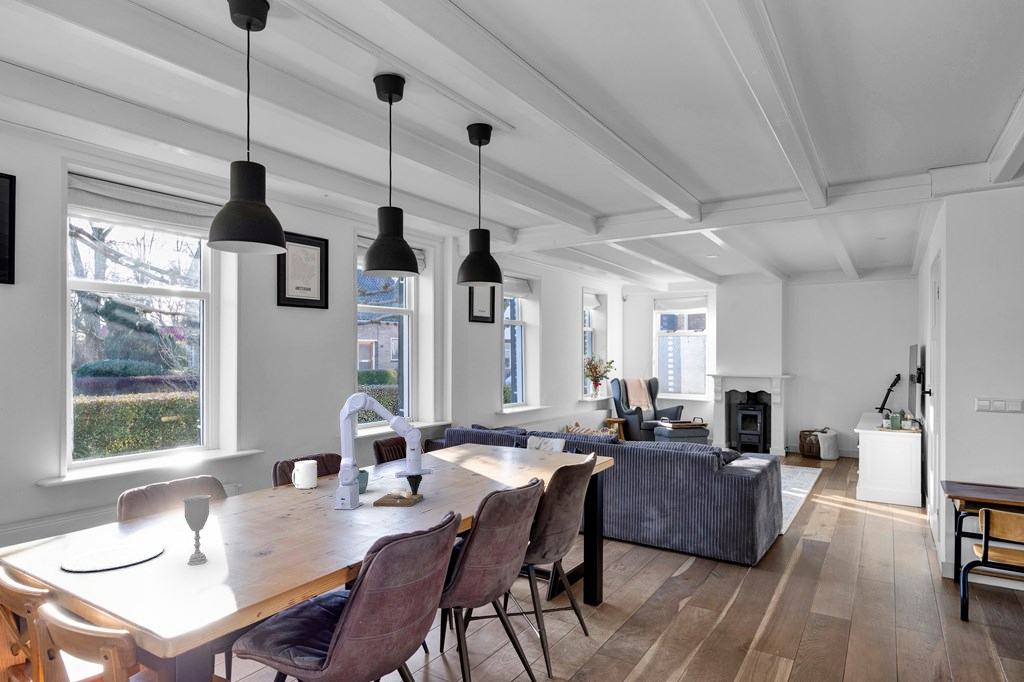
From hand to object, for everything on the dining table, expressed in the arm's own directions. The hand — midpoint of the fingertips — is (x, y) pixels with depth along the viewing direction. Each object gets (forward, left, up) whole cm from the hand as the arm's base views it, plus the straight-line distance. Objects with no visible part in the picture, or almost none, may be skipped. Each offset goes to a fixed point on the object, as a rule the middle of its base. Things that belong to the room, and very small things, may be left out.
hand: (414, 494), depth 234 cm
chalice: (-73, +38, -4) cm, 82 cm away
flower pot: (+18, +32, -4) cm, 37 cm away
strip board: (+2, +7, -3) cm, 8 cm away
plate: (-72, +66, -4) cm, 98 cm away
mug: (+26, +61, -4) cm, 67 cm away
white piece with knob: (0, +5, 0) cm, 5 cm away
